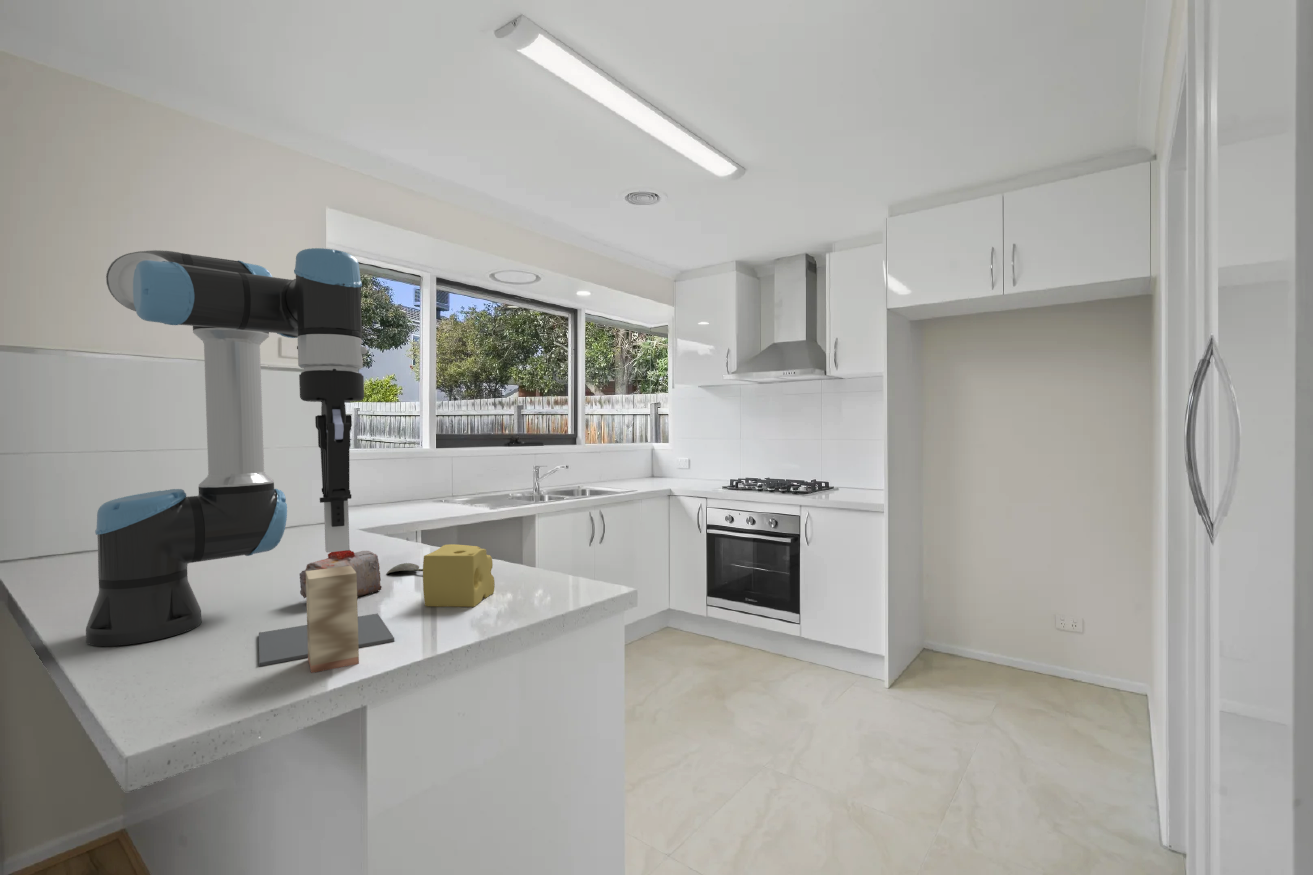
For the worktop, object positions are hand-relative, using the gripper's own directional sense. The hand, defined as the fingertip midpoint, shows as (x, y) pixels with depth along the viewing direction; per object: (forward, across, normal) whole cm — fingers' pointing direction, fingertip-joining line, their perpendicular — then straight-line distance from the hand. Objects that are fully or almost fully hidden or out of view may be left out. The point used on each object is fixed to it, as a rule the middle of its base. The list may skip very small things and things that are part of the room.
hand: (337, 550), depth 83 cm
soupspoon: (+18, +57, -23) cm, 64 cm away
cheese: (+18, +32, -24) cm, 43 cm away
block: (+18, +9, 0) cm, 20 cm away
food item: (+18, +47, -5) cm, 51 cm away
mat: (+17, +21, 0) cm, 28 cm away
